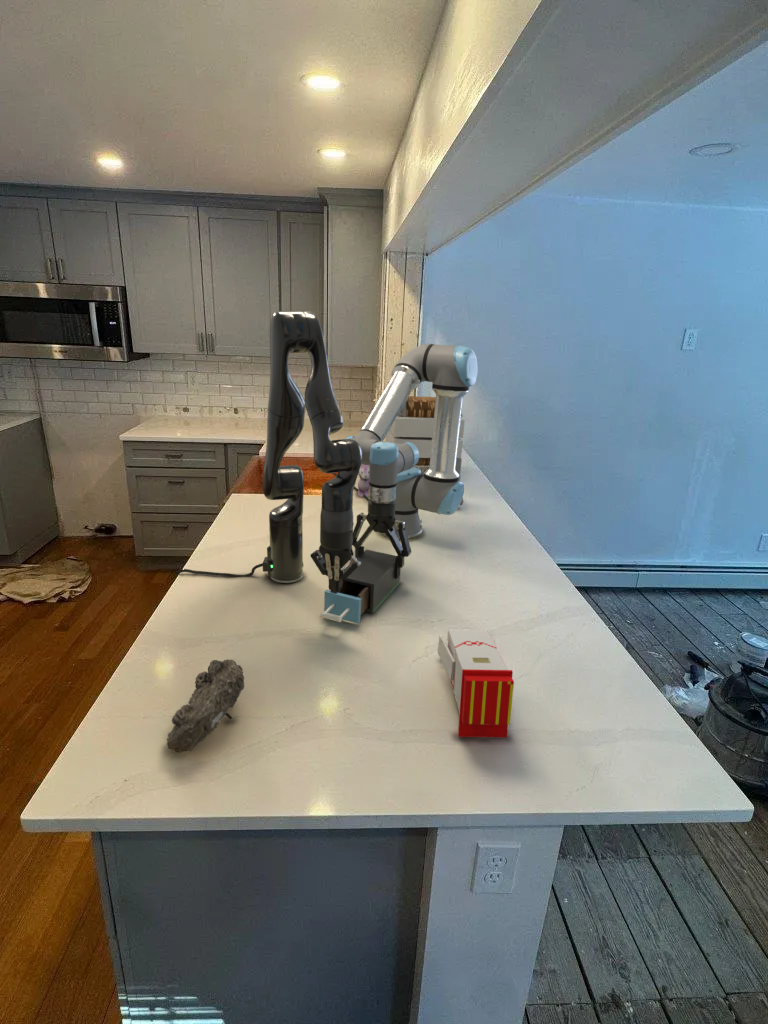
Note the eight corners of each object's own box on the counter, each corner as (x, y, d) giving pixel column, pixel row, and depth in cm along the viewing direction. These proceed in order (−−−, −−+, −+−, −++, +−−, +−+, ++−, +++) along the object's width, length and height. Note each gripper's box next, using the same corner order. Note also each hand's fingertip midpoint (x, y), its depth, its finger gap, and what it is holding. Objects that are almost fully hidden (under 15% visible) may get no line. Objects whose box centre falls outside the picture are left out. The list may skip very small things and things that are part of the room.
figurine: (361, 499, 234) (363, 463, 229) (351, 491, 242) (352, 457, 237) (382, 496, 238) (383, 461, 233) (371, 489, 246) (372, 456, 241)
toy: (488, 613, 130) (523, 677, 101) (484, 667, 133) (517, 744, 104) (435, 612, 130) (455, 676, 101) (432, 666, 133) (451, 743, 103)
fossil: (192, 660, 117) (244, 628, 112) (224, 691, 120) (276, 661, 115) (142, 746, 98) (202, 712, 93) (182, 779, 101) (242, 748, 96)
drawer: (347, 635, 135) (348, 611, 133) (312, 625, 139) (312, 602, 136) (386, 592, 156) (387, 571, 154) (354, 585, 159) (355, 564, 157)
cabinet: (372, 613, 147) (374, 584, 144) (335, 604, 151) (336, 575, 148) (399, 583, 164) (401, 556, 161) (365, 575, 168) (366, 549, 165)
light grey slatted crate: (382, 463, 289) (386, 382, 275) (445, 464, 293) (451, 384, 279) (390, 482, 257) (394, 392, 243) (460, 483, 261) (468, 394, 247)
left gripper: (303, 525, 129) (303, 592, 135) (355, 536, 125) (353, 605, 131) (319, 514, 136) (318, 579, 142) (369, 525, 131) (366, 591, 137)
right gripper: (337, 496, 155) (336, 569, 163) (417, 510, 147) (412, 586, 155) (349, 489, 162) (347, 559, 169) (426, 502, 154) (421, 576, 161)
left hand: (335, 591), depth 136 cm, fingers closed
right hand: (378, 572), depth 162 cm, fingers closed on cabinet, 11 cm apart
